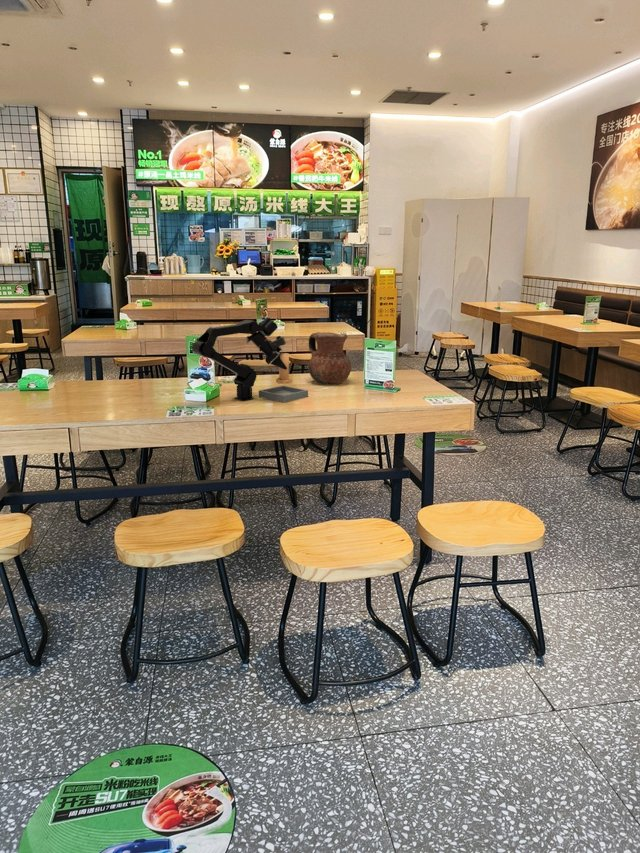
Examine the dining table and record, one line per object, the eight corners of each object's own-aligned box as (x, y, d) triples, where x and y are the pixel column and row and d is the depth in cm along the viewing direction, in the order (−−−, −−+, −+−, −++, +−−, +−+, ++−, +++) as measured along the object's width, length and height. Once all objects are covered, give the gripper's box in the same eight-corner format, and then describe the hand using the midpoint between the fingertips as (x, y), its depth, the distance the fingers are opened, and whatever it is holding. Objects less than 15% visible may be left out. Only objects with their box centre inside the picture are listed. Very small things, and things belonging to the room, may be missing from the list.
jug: (351, 378, 329) (352, 331, 322) (351, 387, 309) (352, 336, 302) (309, 378, 330) (309, 330, 323) (306, 386, 309) (306, 335, 303)
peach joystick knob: (284, 384, 279) (284, 355, 275) (272, 382, 283) (272, 354, 280) (295, 382, 284) (295, 353, 281) (283, 380, 289) (283, 352, 285)
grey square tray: (283, 402, 275) (283, 395, 274) (258, 397, 285) (258, 390, 284) (308, 396, 287) (308, 390, 286) (283, 391, 297) (283, 385, 296)
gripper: (272, 333, 269) (298, 359, 271) (277, 328, 287) (301, 352, 289) (254, 351, 271) (280, 376, 274) (260, 345, 289) (284, 369, 292)
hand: (287, 368), depth 282 cm, fingers closed on peach joystick knob, 4 cm apart
